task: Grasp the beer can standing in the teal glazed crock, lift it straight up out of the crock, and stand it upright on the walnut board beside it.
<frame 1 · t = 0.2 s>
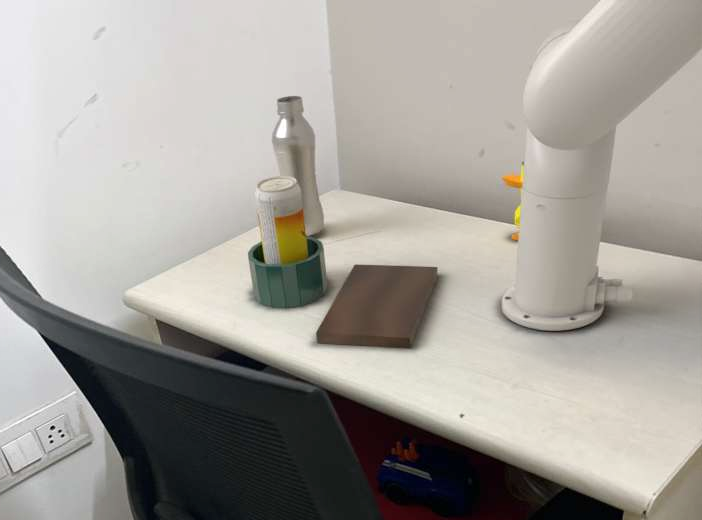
board: (380, 308, 103), on the table
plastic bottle: (305, 234, 125), on the table
crock: (290, 290, 110), on the table
toy figure: (519, 239, 116), on the table
beer can: (290, 291, 110), resting in crock
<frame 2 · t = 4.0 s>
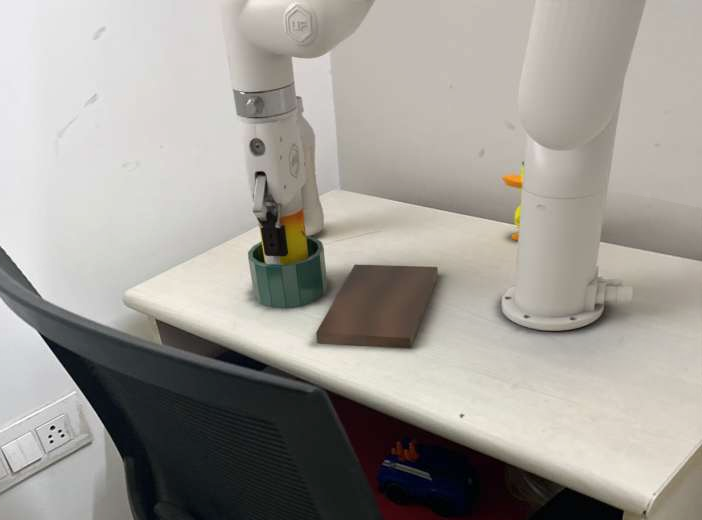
hand: (284, 243, 105), 7 cm above the table, tool pointing down, fingers closed on beer can, 6 cm apart
beer can: (290, 291, 110), resting in crock, touching gripper
everything else where it was.
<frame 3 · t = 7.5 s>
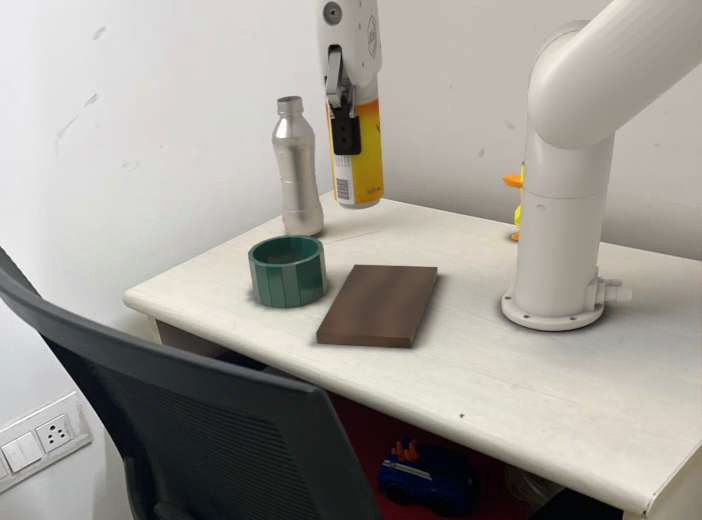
hand: (355, 143, 91), 21 cm above the table, tool pointing down, fingers closed on beer can, 6 cm apart
beer can: (359, 203, 95), point 14 cm above the table, touching gripper
everything else where it was.
when the fingers open (8 cm above the table, at t = 11.0 s): beer can stays where it is, resting on board.
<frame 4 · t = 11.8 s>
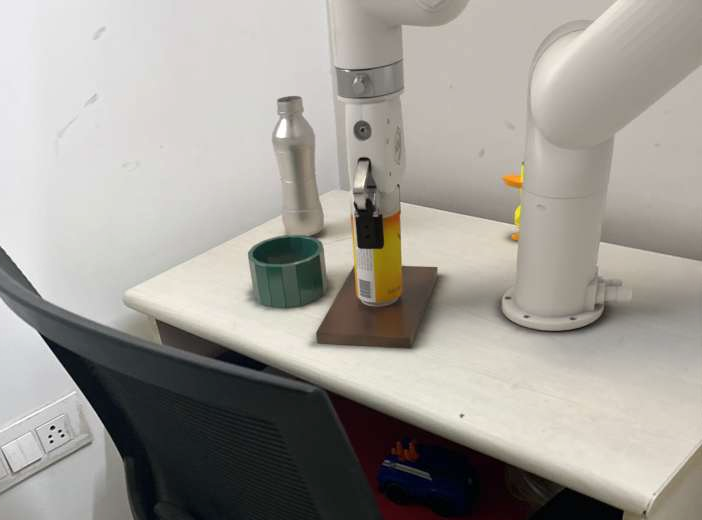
hand: (380, 231, 96), 10 cm above the table, tool pointing down, fingers open, 9 cm apart
beer can: (379, 299, 102), point 1 cm above the table, touching board
everything else where it was.
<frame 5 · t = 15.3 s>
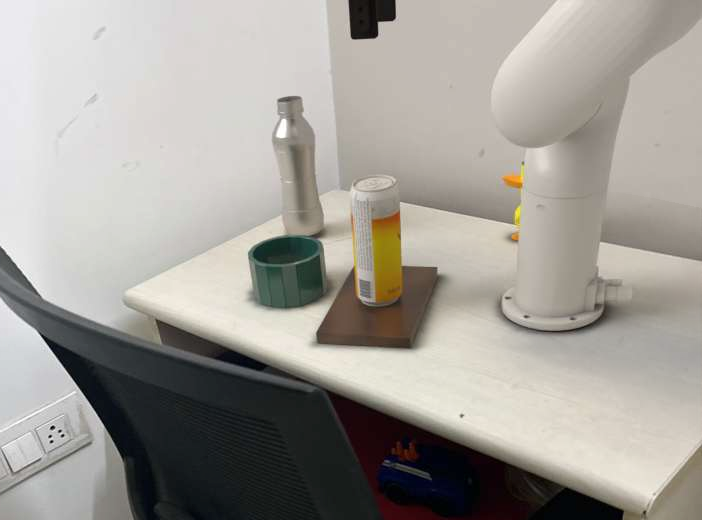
hand: (374, 29, 93), 30 cm above the table, tool pointing down, fingers open, 9 cm apart
nothing on the table moved.
at the end: beer can inside the target area on the board (0.0 cm from its centre), point 1.3 cm above the board's base; beer can tilted 0°; the gripper is holding nothing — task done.
